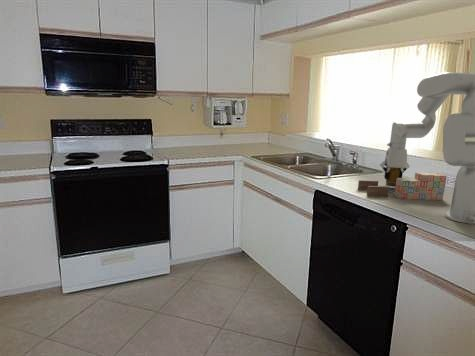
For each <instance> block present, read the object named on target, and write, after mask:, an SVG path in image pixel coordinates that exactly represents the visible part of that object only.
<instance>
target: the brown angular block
mask: <svg viewBox="0 0 475 356" xmlns="http://www.w3.org/2000/svg"><path fill="white" fill-rule="evenodd" d="M357 184H358V185H357V190H358V191H366V197H374V198H375V197H376V198H377V197H379V198H380V197H382V198H387V197H389V196H388V195H389V192H388V191H389V187H388V186H385V185H379V180H366V179H365V180H363V179H359V180H358V183H357Z"/></svg>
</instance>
